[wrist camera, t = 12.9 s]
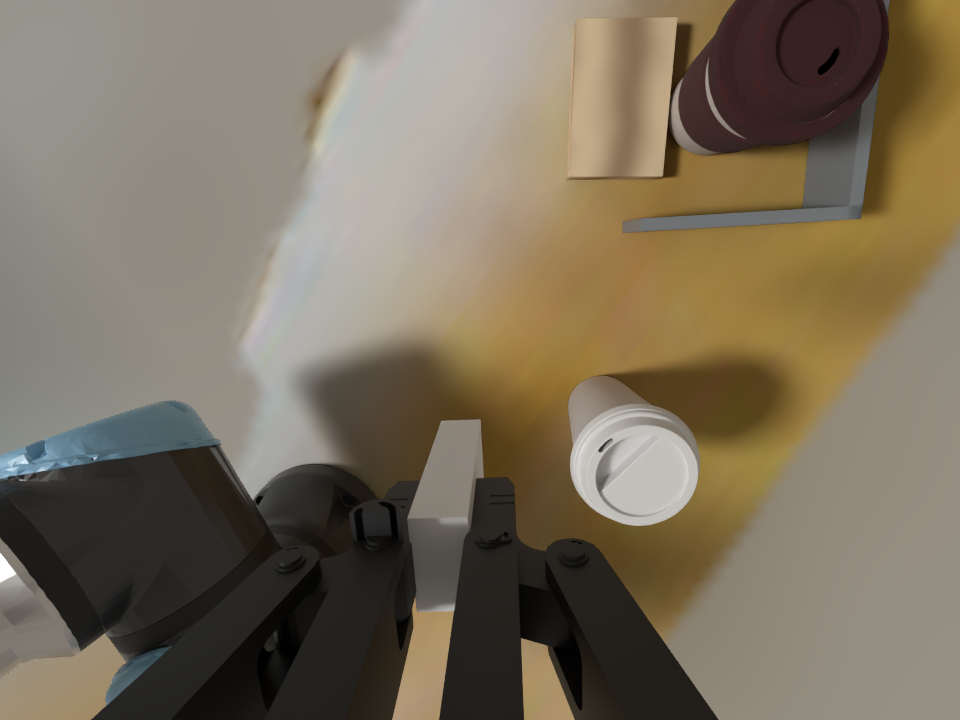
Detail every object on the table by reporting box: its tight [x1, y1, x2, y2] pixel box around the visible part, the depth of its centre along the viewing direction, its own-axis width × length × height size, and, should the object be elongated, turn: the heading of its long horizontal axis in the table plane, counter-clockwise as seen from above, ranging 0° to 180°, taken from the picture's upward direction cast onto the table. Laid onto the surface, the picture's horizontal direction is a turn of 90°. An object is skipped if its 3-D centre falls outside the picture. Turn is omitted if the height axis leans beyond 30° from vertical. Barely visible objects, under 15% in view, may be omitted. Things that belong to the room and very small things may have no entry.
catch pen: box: [623, 0, 890, 233], centre depth 38 cm, size 17×20×6 cm
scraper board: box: [567, 17, 677, 180], centre depth 41 cm, size 8×12×2 cm, turn 0°
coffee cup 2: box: [668, 0, 889, 155], centre depth 34 cm, size 10×10×15 cm
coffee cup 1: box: [568, 376, 700, 526], centre depth 41 cm, size 10×10×15 cm
